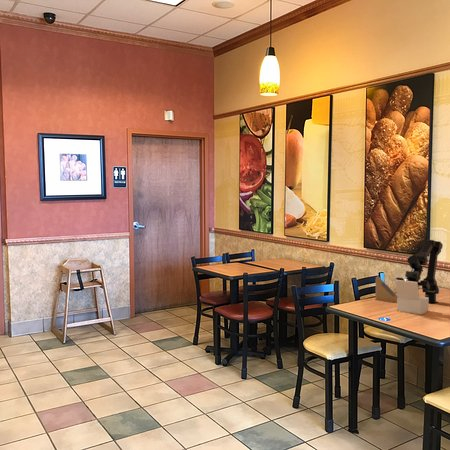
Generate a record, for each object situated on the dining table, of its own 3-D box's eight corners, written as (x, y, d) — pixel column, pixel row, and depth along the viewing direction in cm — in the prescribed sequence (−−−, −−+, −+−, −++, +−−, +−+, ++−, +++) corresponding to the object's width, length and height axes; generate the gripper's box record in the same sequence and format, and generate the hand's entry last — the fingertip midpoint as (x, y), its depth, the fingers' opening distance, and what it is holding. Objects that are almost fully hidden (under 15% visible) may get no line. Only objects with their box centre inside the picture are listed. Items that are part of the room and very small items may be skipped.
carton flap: (395, 279, 286) (395, 279, 285) (417, 282, 277) (417, 282, 277) (398, 297, 289) (397, 297, 289) (419, 300, 281) (419, 301, 280)
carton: (405, 307, 299) (405, 294, 299) (428, 310, 290) (428, 297, 289) (396, 311, 291) (397, 297, 290) (420, 315, 281) (420, 301, 281)
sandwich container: (400, 302, 312) (400, 279, 311) (375, 300, 319) (375, 277, 318) (401, 299, 320) (401, 277, 319) (377, 297, 327) (377, 275, 325)
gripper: (396, 264, 293) (388, 285, 286) (428, 267, 280) (420, 289, 273) (401, 274, 299) (394, 296, 293) (433, 278, 287) (426, 300, 280)
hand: (408, 295), depth 284 cm, fingers closed, pressing on carton flap
